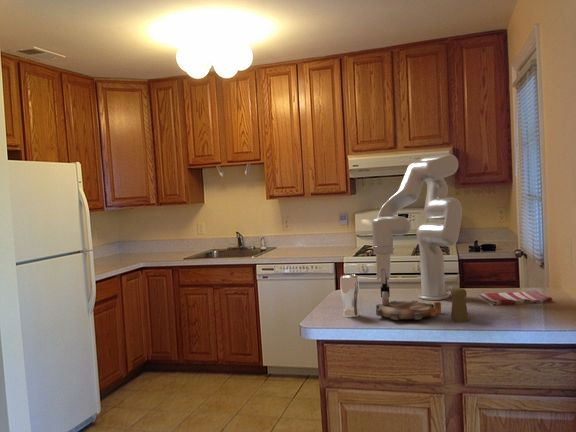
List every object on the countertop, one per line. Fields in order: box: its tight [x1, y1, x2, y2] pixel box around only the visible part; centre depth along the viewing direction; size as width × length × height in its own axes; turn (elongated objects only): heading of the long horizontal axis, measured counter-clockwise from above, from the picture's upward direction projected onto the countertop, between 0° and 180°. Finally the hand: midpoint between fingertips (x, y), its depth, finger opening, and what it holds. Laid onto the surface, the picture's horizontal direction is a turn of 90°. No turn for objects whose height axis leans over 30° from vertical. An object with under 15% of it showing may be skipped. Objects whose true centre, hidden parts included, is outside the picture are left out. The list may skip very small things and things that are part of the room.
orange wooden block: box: [398, 301, 442, 321], centre depth 184 cm, size 19×12×4 cm, turn 112°
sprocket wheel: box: [375, 292, 437, 321], centre depth 183 cm, size 22×22×7 cm
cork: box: [450, 287, 470, 323], centre depth 173 cm, size 6×6×11 cm
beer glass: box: [339, 274, 360, 318], centre depth 187 cm, size 7×7×15 cm
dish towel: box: [477, 289, 554, 306], centre depth 199 cm, size 17×23×3 cm
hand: (385, 297), depth 192 cm, fingers closed
